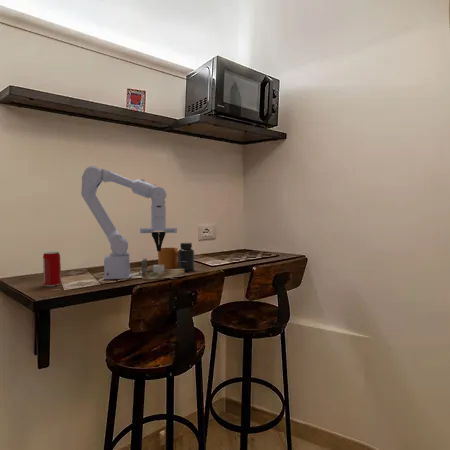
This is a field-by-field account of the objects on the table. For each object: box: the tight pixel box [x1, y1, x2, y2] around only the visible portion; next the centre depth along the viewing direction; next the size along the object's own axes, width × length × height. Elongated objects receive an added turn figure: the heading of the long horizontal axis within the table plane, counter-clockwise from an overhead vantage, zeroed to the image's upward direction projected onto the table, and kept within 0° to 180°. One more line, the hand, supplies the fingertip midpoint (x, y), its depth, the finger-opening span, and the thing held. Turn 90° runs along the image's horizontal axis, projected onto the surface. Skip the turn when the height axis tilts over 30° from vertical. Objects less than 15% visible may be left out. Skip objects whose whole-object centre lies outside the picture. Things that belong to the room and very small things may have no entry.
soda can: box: [42, 251, 62, 287], centre depth 127 cm, size 6×6×12 cm
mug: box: [157, 247, 179, 270], centre depth 161 cm, size 9×12×9 cm
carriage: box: [152, 264, 165, 273], centre depth 139 cm, size 4×4×4 cm
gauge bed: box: [141, 258, 186, 280], centre depth 139 cm, size 16×7×7 cm, turn 98°
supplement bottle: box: [177, 242, 195, 273], centre depth 153 cm, size 7×7×12 cm
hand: (158, 251), depth 143 cm, fingers closed
